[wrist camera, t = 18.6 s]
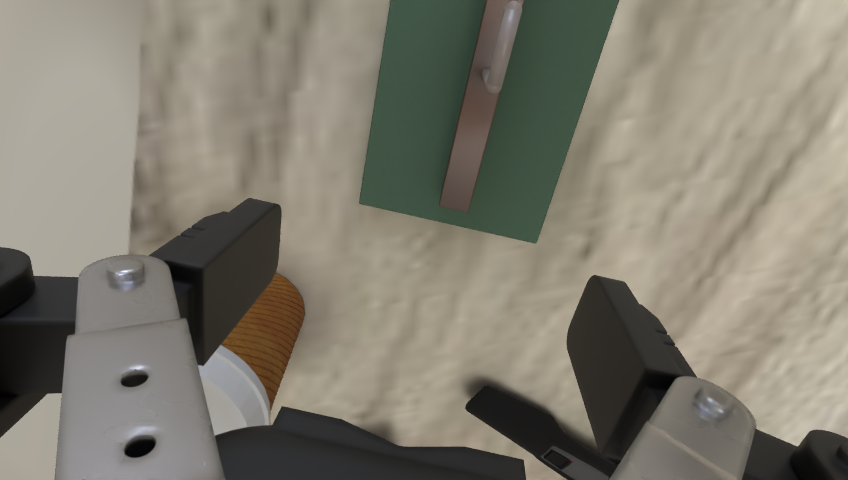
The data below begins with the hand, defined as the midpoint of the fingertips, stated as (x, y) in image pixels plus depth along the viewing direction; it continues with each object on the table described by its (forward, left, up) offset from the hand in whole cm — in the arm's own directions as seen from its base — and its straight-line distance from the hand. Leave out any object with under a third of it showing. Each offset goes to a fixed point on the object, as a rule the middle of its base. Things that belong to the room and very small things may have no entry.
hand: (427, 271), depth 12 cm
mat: (-6, +1, -18) cm, 19 cm away
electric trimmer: (+22, +13, -18) cm, 31 cm away
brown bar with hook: (-5, +1, -18) cm, 18 cm away
